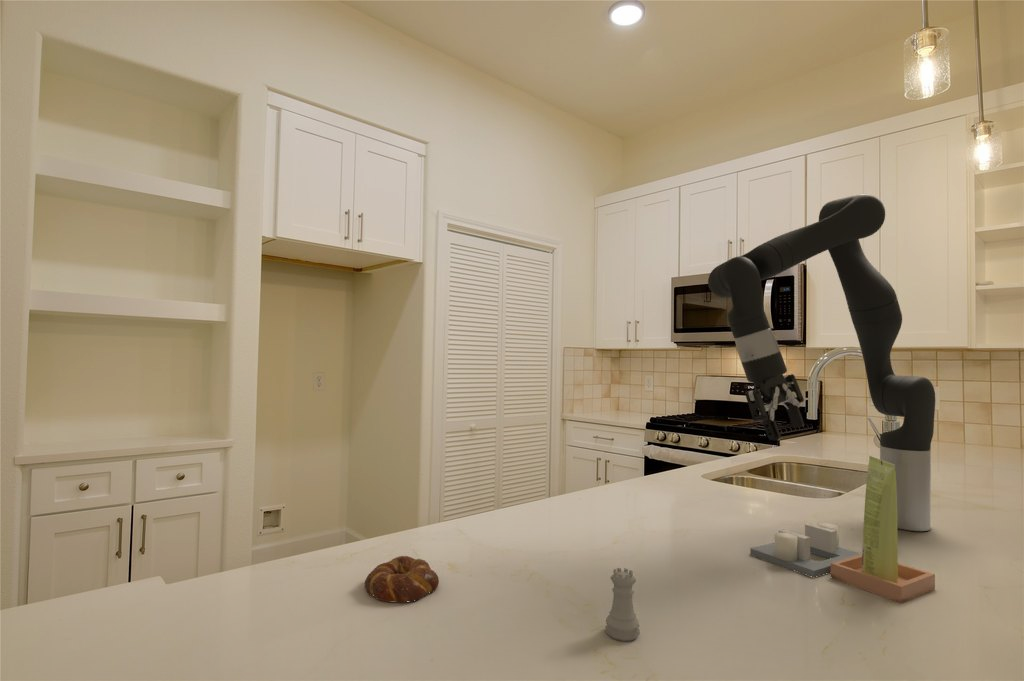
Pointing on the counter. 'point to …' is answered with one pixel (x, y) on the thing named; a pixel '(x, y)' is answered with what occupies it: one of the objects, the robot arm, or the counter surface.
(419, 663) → the counter surface
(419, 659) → the counter surface
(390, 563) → the brown pretzel bun
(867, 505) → the tube
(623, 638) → the rook chess piece
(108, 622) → the counter surface
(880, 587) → the tray
